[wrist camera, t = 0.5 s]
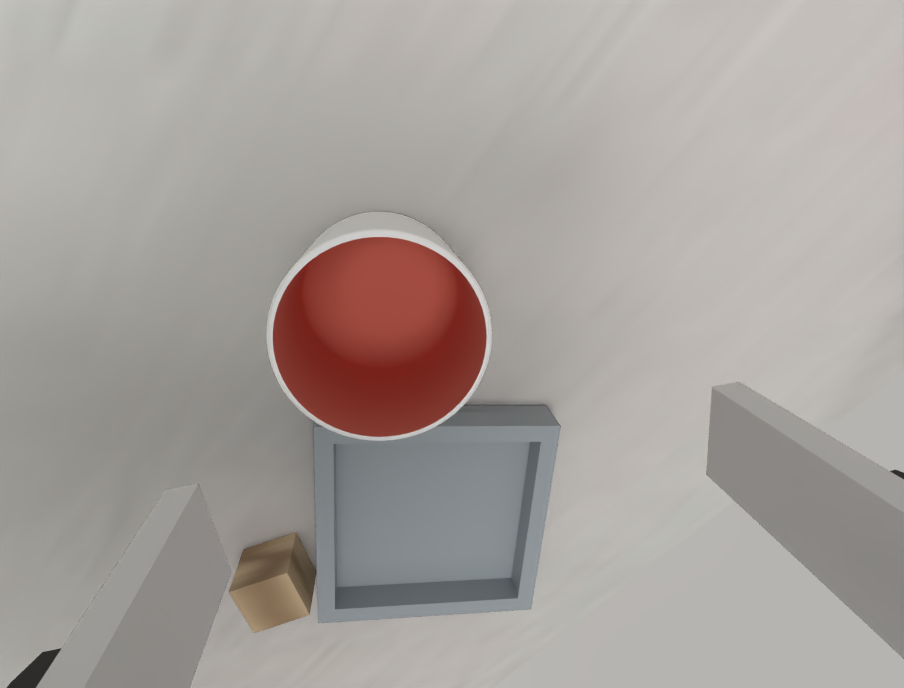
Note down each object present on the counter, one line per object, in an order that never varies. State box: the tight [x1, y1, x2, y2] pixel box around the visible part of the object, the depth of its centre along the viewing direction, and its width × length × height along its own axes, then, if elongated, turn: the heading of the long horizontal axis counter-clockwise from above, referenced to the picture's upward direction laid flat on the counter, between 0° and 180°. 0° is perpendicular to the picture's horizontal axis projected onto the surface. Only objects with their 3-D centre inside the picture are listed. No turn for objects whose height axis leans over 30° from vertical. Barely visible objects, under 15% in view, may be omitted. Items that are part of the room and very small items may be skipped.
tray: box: [313, 405, 561, 623], centre depth 36 cm, size 16×16×3 cm
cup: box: [266, 212, 492, 441], centre depth 27 cm, size 10×10×10 cm
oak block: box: [229, 532, 316, 633], centre depth 35 cm, size 4×4×4 cm
